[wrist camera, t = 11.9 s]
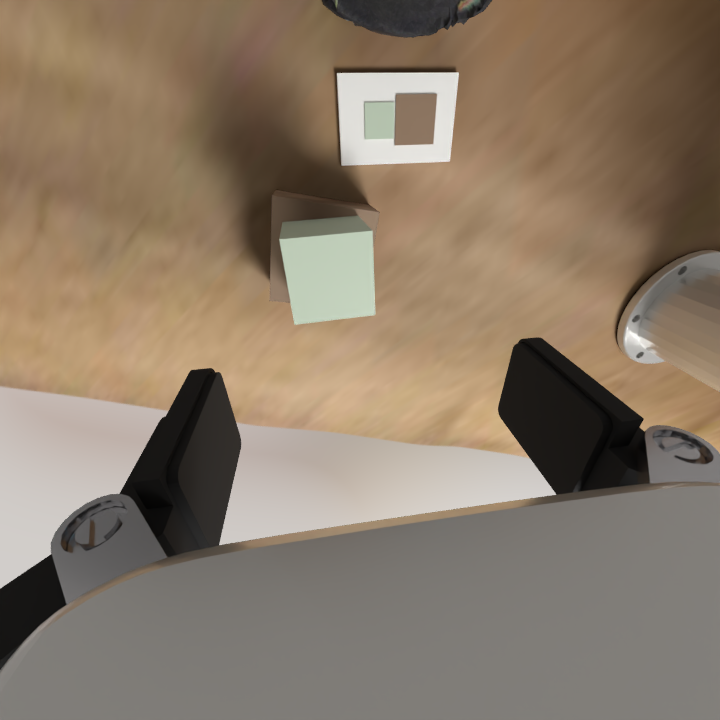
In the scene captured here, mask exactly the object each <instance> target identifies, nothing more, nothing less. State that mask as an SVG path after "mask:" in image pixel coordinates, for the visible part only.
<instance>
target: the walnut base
mask: <svg viewBox="0 0 720 720" xmlns="http://www.w3.org/2000/svg"><path fill="white" fill-rule="evenodd" d="M379 213H380V212H378V211H377V210H376V209H374V208H373V207H372V206H370V205H367V204H361V203H354V202H348V201H342V200H336V199H329V198H323V197H317V196H310V195H304V194H298V193H291V192H285V191H279V190H275V191H274V193H273V195H272V214H271V259H270V301H278V302H289V303H291V302H290V296H289V291H288V285H287V280H286V274H285V269H284V263H283V257H282V252H281V246H280V241H279V238H280V233H281V228H282V222H290V221H302V220H313V219H324V218H336V217H347V216H359V217H360V218H361V219H362V220H363V221H364V222H365V223H366V224H367V225H368V226H369V228H370V229H371V230H372V231H373V247H374V242H375V236H376V230H377V224H378V219H379Z"/></svg>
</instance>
